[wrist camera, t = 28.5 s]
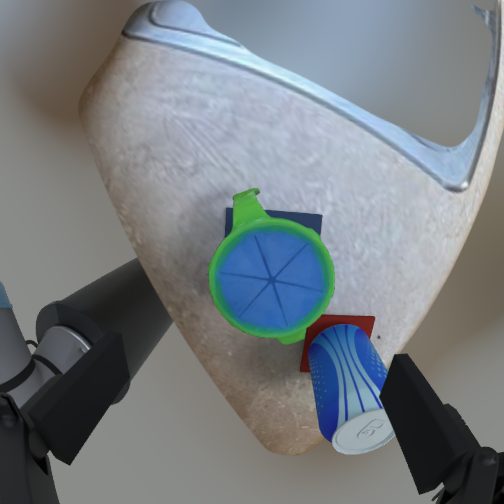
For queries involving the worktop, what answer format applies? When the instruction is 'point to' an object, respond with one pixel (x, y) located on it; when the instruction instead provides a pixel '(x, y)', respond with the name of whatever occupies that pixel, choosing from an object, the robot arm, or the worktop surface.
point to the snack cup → (270, 273)
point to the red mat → (329, 321)
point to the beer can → (349, 390)
